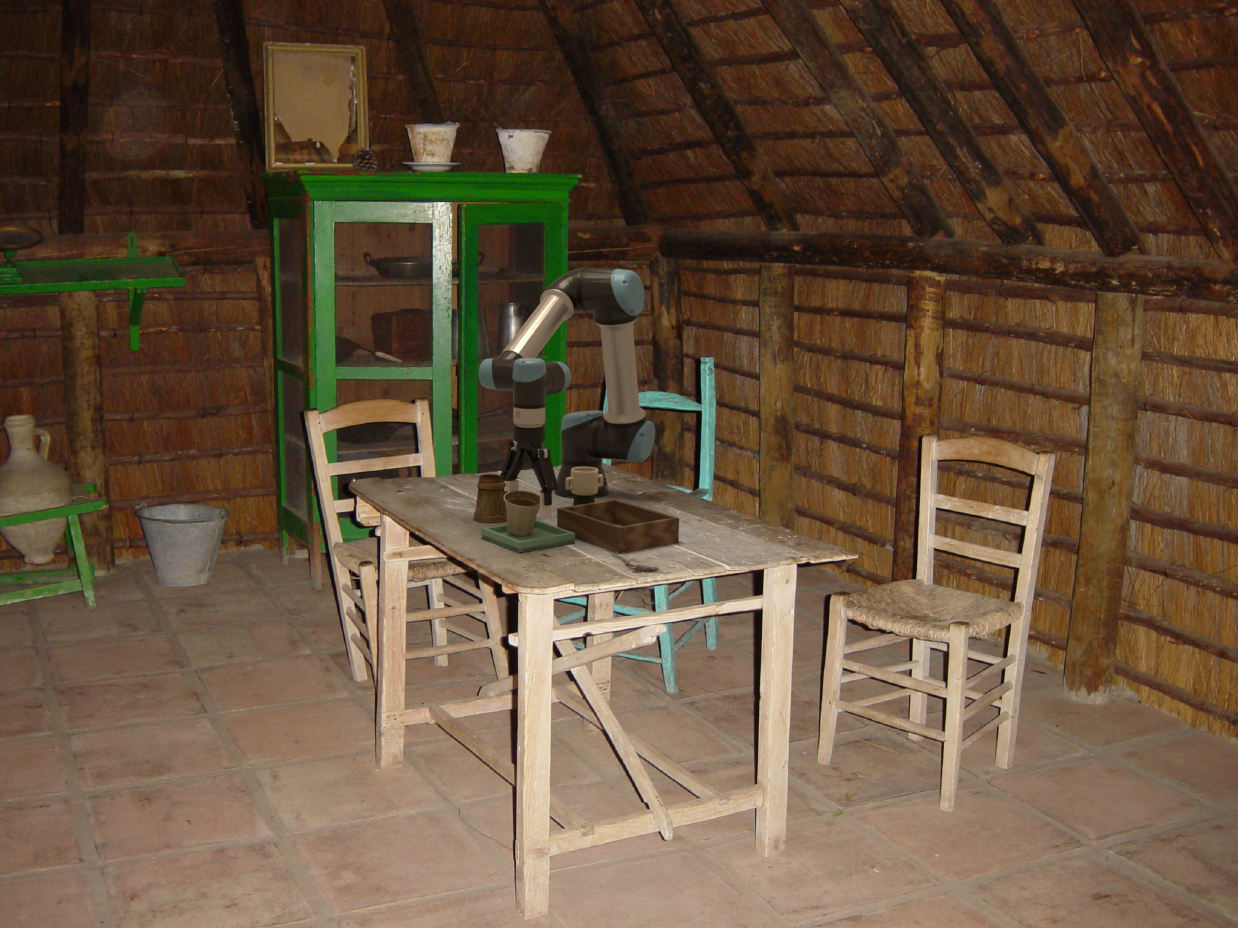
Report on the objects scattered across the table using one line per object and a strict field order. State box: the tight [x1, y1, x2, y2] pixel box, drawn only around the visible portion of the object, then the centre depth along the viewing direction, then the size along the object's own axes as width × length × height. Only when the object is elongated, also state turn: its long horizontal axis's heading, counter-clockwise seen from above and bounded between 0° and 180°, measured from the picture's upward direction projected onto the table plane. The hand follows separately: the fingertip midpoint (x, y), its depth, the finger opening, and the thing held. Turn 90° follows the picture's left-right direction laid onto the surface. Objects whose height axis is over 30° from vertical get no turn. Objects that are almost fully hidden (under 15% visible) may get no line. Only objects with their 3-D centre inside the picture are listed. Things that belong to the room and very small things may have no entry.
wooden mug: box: [473, 470, 517, 524], centre depth 309 cm, size 9×14×18 cm, turn 112°
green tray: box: [481, 519, 576, 553], centre depth 289 cm, size 16×16×2 cm
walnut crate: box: [556, 499, 680, 554], centre depth 294 cm, size 18×24×6 cm
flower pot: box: [504, 490, 540, 536], centre depth 290 cm, size 9×9×9 cm
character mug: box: [565, 467, 603, 506], centre depth 312 cm, size 11×7×13 cm, turn 120°
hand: (528, 512), depth 288 cm, fingers open, 13 cm apart
